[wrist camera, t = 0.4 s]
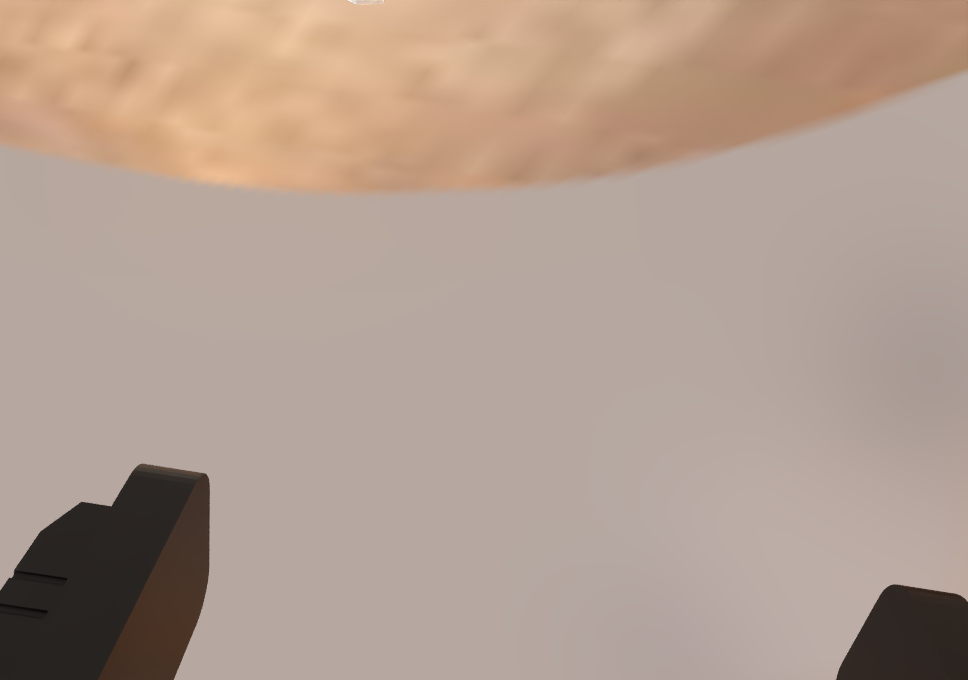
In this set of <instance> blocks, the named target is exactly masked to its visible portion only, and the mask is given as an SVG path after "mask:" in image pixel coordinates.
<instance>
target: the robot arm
mask: <svg viewBox="0 0 968 680" xmlns="http://www.w3.org/2000/svg"><path fill="white" fill-rule="evenodd" d="M209 487H210V485H209V478H208V476H207V474H204V473H198V472H192V471H185V470H179V469H173V468H166V467H160V466H154V465H147V464H140V465H138V466H137V467H136V468H135V469H134V470H133V472H132V473H131V475H130V476H129V478H128V480H127V481H126V483H125V485H124V486H123V488H122V490H121V491H120V493H119V495H118V497H117V498H116V500H115V501H114V503H113V505H112V506H105V505H98V504H92V503H85V502H81V503H79V504H78V505H77V506H75V507H74V508H72V509H71V510H70V511H68V512H67V513H66V514H64V515H63V516H61V517H60V518H59V519H57V520H56V521H54V522H53V523H52V524H50V525H49V526H48V527H46V528H45V529H43V530H42V531H41V532H40V533H39V534H38V536H37V538H36V539H35V540H34V542H33V543H32V545H31V546H30V548H29V550H28V551H27V552H26V554H25V555H24V557H23V558H22V560H21V561H20V562H19V564H18V565H17V567H16V568H15V570H14V575H13V577H12V578H9V579H8V580H7V582H6V583H5V585H4V586H3V588H2V589H1V590H0V680H174V678H175V675H176V673H177V670H178V668H179V665H180V663H181V661H182V658H183V656H184V653H185V651H186V648H187V646H188V643H189V641H190V638H191V636H192V634H193V631H194V629H195V627H196V624H197V621H198V619H199V616H200V613H201V609H202V606H203V602H204V598H205V594H206V589H207V583H208V575H209V514H210V513H209V511H210V510H209V509H210V507H209V504H210V503H209V502H210V501H209V500H210V488H209ZM836 680H968V602H967V601H966V599H965V598H963V597H962V596H960V595H958V594H954V593H947V592H940V591H934V590H928V589H922V588H915V587H909V586H903V585H890V586H889V587H887V588H886V589H885V590H884V591H883V592H882V593H881V595H880V597H879V599H878V600H877V602H876V604H875V605H874V607H873V609H872V611H871V612H870V614H869V616H868V618H867V620H866V621H865V623H864V625H863V627H862V629H861V630H860V632H859V634H858V636H857V637H856V639H855V641H854V643H853V645H852V646H851V648H850V650H849V652H848V653H847V655H846V657H845V659H844V661H843V662H842V664H841V666H840V668H839V671H838V675H837V679H836Z"/></svg>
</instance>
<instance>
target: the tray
mask: <svg viewBox="0 0 968 680" xmlns="http://www.w3.org/2000/svg"><path fill="white" fill-rule="evenodd" d="M348 1H350V2H352V3H353V4H355V5H360V4H383V2H384V0H348Z"/></svg>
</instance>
